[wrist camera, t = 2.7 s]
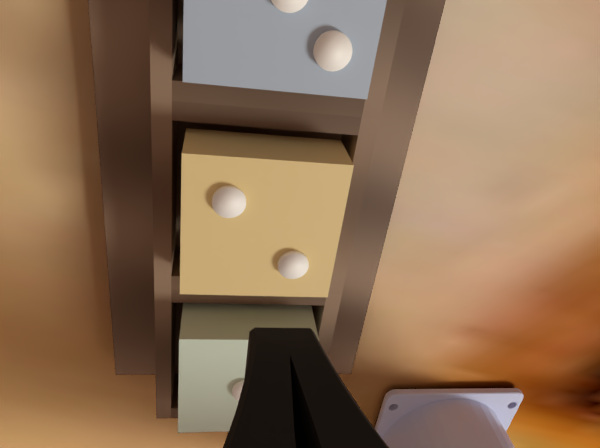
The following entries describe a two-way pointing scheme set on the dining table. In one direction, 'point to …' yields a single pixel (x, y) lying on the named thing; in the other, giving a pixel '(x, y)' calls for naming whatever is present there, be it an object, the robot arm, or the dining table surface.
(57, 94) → the dining table surface
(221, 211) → the two pip tile
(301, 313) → the one pip tile
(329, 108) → the brown tile tray
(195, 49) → the three pip tile
